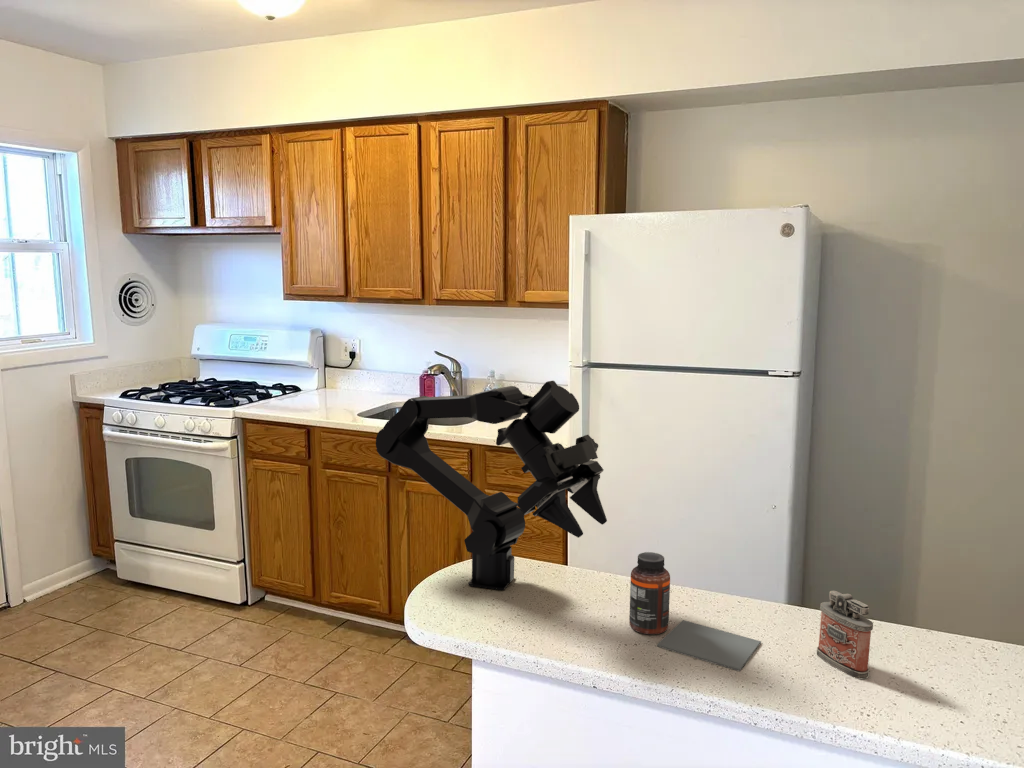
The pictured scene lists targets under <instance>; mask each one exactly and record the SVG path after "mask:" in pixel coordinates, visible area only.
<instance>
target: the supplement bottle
mask: <svg viewBox="0 0 1024 768" xmlns="http://www.w3.org/2000/svg"><path fill="white" fill-rule="evenodd" d="M629 590H630V591H629V618H628V619H629V621H628V623H629V626H630V627H631V629H632V630H633V631H636V632H638V633H640V634H644V635H659V634H660V635H661V634H663V633H665V632H666V631H667V630H668V628H669V623H670V599H671V597H670V596H671V595H670V594H671V592H670V591H671V574H670V573H669V570H668V569H666V568H665V557H664V556H663V554H661V553H658V552H649V551H645V552H641V553H639V554H637V565H636V566H635V567H633V568H632V570H631V573H630V587H629Z"/></svg>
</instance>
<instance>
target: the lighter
mask: <svg viewBox="0 0 1024 768" xmlns="http://www.w3.org/2000/svg"><path fill="white" fill-rule="evenodd" d="M828 599H829V601H823V602H821V603H820V604H819V605H820V606H819V611H821V613H820V622H819V623H820V624H819V637H818V646H817V647H816V656H817V657H818V658H819V659H820V660H822V661H823V662H825V663H827V664H828V665H830V666H831V667H833V668H834V669H836V668H837V669H836V670H837V671H838V670H839V671H840V672H841V671H842V673H843V672H844V674H846V675H848V676H850V677H851V678H854V677H855V679H858V678H866V679H867V677H868V678H869V673H870V669H869V658H870V648H871V647H870V646H871V645H870V644H871V636H872V631H873V629H874V623H873V621H872V620H870V619H868V618H867V617H866V616H869V612H870V607H869V605H868V604H866V603H864V602H862V601H859V600H857V599H854V597H853V595H852V594H850V593H843V594H842V593H841V592H839V591H836V590H830V591H829V597H828Z"/></svg>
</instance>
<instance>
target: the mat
mask: <svg viewBox="0 0 1024 768" xmlns="http://www.w3.org/2000/svg"><path fill="white" fill-rule="evenodd" d="M761 642H762V641H761V640H758V639H753V638H750V637H748V636H747V637H746V636H744V635H740V634H737V633H732V632H729V631H727V630H726V631H725V630H722V629H719V628H715V627H710V626H707V625H702V624H700V623H696V622H692V621H689V620H685V619H682V620H681V621H680V622H679V623H678V624H677V625H676V626H675V627H674V628H673V629H672V630H670V632H669V633H667V634H666V635H665V637H663V638H662V639H661V640H660V641H659V642H658V643H657V645H656V646H657V647H658V648H661V649H665V650H668V651H672V652H675V653H677V654H681V655H685V656H687V657H692V658H695V659H698V660H702V661H705V662H708V663H711V664H715V665H717V666H721V667H725V668H728V669H730V670H735V671H738V672H740V671H741V670H742V669H743V668H744V666H745V665H746V664H747V662H748V661H749V660H750V658H751V657H752V656H753V654H754V653H755V651H756V650H757V649H758V648H759V646H760V645H761Z"/></svg>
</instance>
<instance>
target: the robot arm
mask: <svg viewBox="0 0 1024 768" xmlns="http://www.w3.org/2000/svg"><path fill="white" fill-rule="evenodd" d="M579 411H580V405H579V402H578V399H577V398H576V397H575V395H574V394H573V393H571V392H569V390H567V389H566V388H564V387H563V386H561V385H559V384H557V382H556V381H555V380H549V381H546V382H544V384H543V385H542V386H541V388H540V389H539V391H537V392H536V393H535V394H534V396H531V395H527V394H524V393H523V392H522V391H521V390H520V388H519V387H517V386H514V385H508V386H505V387H504V386H503V387H497V388H492V389H488V390H484V391H480V392H476V393H473V394H463V395H445V396H441V395H440V396H427V395H423V396H416V397H411V398H408V399H407V400H406V401H405V402H403V404H402V406H401V408H400V410H398V412H396V413H395V414H394V415H393V416H392V417H391V418H390V419H389V420H388V421H387V422H385V425H384V426H383V428H382V429H380V430H379V431H378V432H377V434H376V438H375V447H376V451H377V454H378V455H379V456H380V457H381V458H382V459H385V460H386V461H388V462H389V463H391V464H393V465H395V466H399V467H403V468H406V469H410V470H411V471H413V472H414V473H415V474H416V475H418V476H419V477H420V478H421V479H422V480H423V481H425V482H427V484H429V485H430V486H431V487H432V488H433V489H434V490H436V492H438V493H439V494H441V495H442V497H444V498H445V499H447V500H448V501H449V502H451V503H452V504H453V505H454V506H455V507H456V508H458V509H459V511H461V512H463V514H465V515H466V517H467V520H468V522H469V526H470V528H471V530H472V532H471V533H469V534H468V536H467V537H466V538H464V541H463V542H464V544H465V545H464V546H465V549H466V552H467V553H471V579H470V580H469V581H468V582H467V583H468V586H469V587H476V588H484V589H489V590H490V589H491V590H498V591H505V590H506V589H507V587H508V586H509V585H510V584H511V582H512V581H513V579H514V578H515V556H514V555H512V550H513V549H512V546H513V545H516V544H517V542H518V540H519V537H520V536H522V535H523V534H524V533H525V532H524V531H525V529H526V520H525V516H526V515H528V514H530V513H532V512H533V513H532V516H534V517H538V518H540V519H541V518H542V519H543V520H545V521H547V522H549V523H551V524H553V525H555V526H556V527H559V528H560V529H562V530H564V531H566V532H567V533H569V534H571V535H572V536H574V537H576V538H581V537H582V536H583V535H584V532H583V530H582V528H581V526H580V524H579V522H578V521H577V519H576V518H575V516H574V514H573V513H572V510H571V509H570V508H569V505H568V504H567V498H566V494H567V493H566V492H568V493H570V494H572V495H571V496H569V499H570V501H573V503H574V504H576V505H577V506H578V507H579V508H581V509H582V511H584V512H585V513H586V514H587V515H589V516H590V517H591V518H593V519H594V521H597V522H598V523H599V524H600V525H605V524H606V523H607V522H608V520H607V517H606V513H605V510H604V506H603V504H602V502H601V499H600V495H599V491H598V484H599V480H601V474H602V473H603V472H604V469H603V466H602V465H601V464H600V463H599V462H598V461H596V459H598V458H599V457H598V455H597V451H598V448H599V444H598V443H597V442H596V441H595V440H594V438H592V437H591V436H590V435H589V434H585V435H582V436H580V437H578V438H576V439H575V444H574V445H570V446H568V447H564V446H563V445H562V443H560V442H556V443H553V442H552V441H551V439H550V438H549V437H548V435H547V434H546V433H548V434H556V433H557V432H558V431H559V430H560V429H561V428H562V427H563V426H564V425H565V424H566V423H567V422H569V421H570V420H571V418H573V417H574V416H575V415H576V414H578V412H579ZM523 414H525V416H523ZM522 416H523V417H522ZM521 417H522V418H521ZM451 418H452V419H453V418H460V419H461V418H469V419H473V420H475V421H478V422H480V423H481V422H482V423H486V424H492V425H497V424H500V423H501V424H502V423H505V422H508V421H511V423H510V424H509V425H508V426H507V427H501V428H498V429H497V437H496V440H495V444H496V446H503V445H506V444H510V446H511V448H513V450H514V452H515V453H516V455H517V456H518V458H519V459H520V460H521V461H522V463H523V466H521V468H520V469H521V470H522V472H523V473H524V474H527V473H529V472H530V474H531V475H532V477H533V478H534V479H535V481H534V482H533V483H531V484H530V485H529V486H528V487H527V488H526V489H525V490H523V492H522V493H520V494H519V496H517V502H515V501H513V500H511V499H510V498H509V496H508V495H507V494H505V493H504V492H503V491H498V492H496V493H493V494H491V495H488V494H486V493H485V492H484V491H482V490H481V489H480V488H478V486H476V485H474V484H473V483H472V482H471V481H469V479H467V478H466V477H465V476H463V475H462V474H461V473H460V472H458V471H457V470H456V469H455V468H453V467H452V466H450V464H448V463H447V462H446V461H444V460H443V459H442V458H441V457H440V456H439V455H437V454H436V453H435V452H433V451H432V450H431V448H430V446H429V442H428V439H427V437H426V436H425V435H426V433H427V431H429V426H430V425H429V424H430V419H451ZM536 508H537V509H536Z"/></svg>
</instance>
